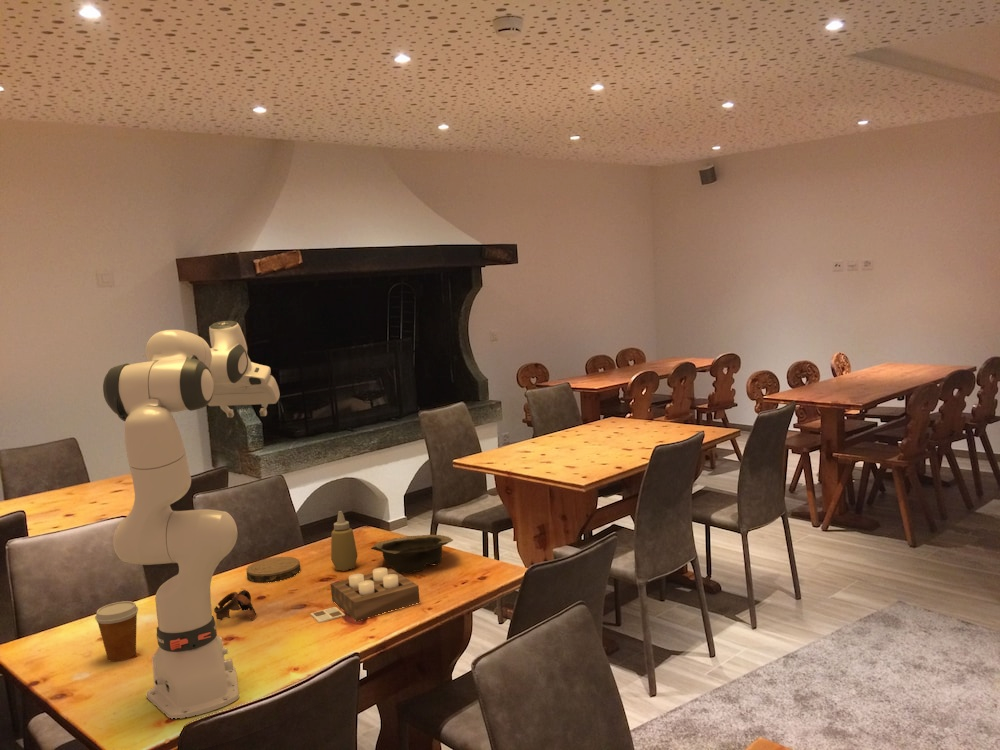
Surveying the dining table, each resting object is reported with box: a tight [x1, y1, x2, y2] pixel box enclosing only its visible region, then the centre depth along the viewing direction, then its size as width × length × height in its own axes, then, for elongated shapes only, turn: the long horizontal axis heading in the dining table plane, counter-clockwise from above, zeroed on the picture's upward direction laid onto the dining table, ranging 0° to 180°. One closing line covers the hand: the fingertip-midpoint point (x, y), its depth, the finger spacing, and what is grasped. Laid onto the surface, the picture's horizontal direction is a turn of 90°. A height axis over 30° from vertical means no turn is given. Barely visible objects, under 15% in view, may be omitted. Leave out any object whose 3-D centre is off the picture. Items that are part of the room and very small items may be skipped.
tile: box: [310, 606, 346, 624], centre depth 215 cm, size 7×7×1 cm
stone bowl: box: [370, 534, 454, 574], centre depth 251 cm, size 25×25×9 cm
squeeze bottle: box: [330, 510, 358, 571], centre depth 251 cm, size 8×8×18 cm
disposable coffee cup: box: [94, 600, 139, 662], centre depth 198 cm, size 10×10×12 cm
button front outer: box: [383, 574, 399, 590], centre depth 220 cm, size 4×4×5 cm
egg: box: [348, 573, 365, 589], centre depth 223 cm, size 4×4×5 cm
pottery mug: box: [213, 589, 257, 622], centre depth 218 cm, size 12×10×8 cm
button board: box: [330, 568, 421, 622], centre depth 222 cm, size 18×18×5 cm
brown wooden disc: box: [245, 556, 301, 584], centre depth 252 cm, size 16×16×3 cm
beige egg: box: [372, 567, 388, 583], centre depth 226 cm, size 4×4×5 cm
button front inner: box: [358, 580, 375, 596], centre depth 217 cm, size 4×4×5 cm
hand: (247, 415), depth 231 cm, fingers open, 8 cm apart
